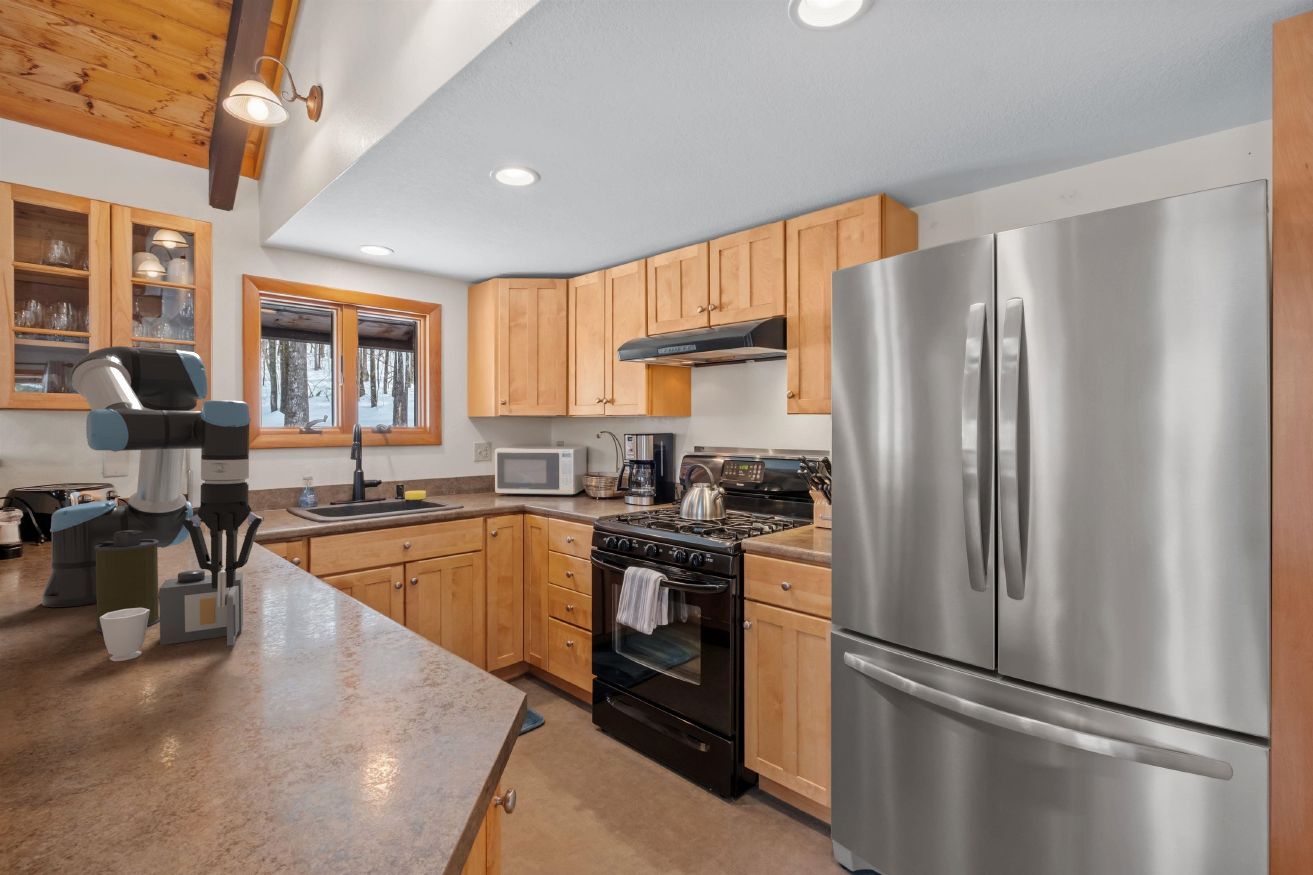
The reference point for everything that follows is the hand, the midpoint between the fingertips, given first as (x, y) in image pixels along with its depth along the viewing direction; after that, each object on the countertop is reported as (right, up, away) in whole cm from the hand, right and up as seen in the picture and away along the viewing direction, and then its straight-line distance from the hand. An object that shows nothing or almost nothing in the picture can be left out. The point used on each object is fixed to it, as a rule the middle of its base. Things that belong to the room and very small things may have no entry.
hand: (223, 604), depth 119 cm
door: (0, -7, +2) cm, 7 cm away
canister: (-30, -8, +14) cm, 34 cm away
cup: (-15, -8, -4) cm, 18 cm away
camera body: (-9, -8, +8) cm, 14 cm away
